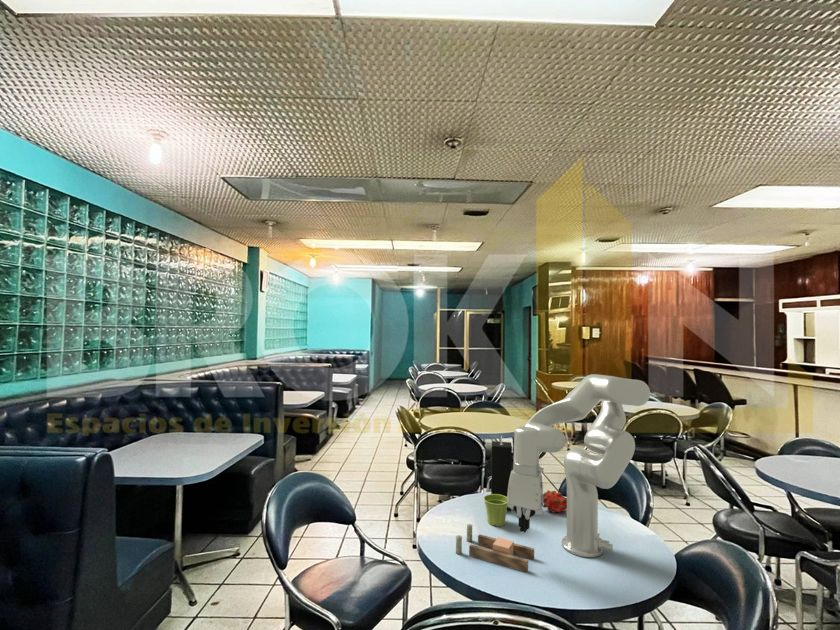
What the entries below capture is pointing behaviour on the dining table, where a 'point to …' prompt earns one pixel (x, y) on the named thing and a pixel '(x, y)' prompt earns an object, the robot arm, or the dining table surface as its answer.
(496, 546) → the block
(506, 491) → the tall black pillar
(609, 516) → the dining table surface
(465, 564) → the dining table surface
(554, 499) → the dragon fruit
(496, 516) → the plant pot
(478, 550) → the chute
